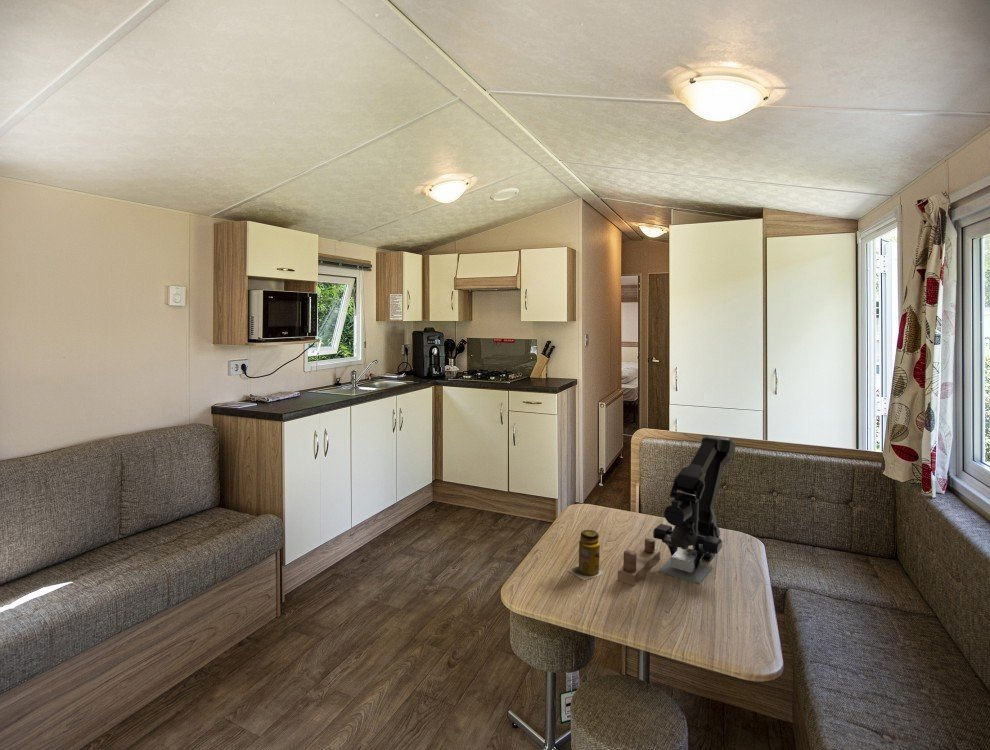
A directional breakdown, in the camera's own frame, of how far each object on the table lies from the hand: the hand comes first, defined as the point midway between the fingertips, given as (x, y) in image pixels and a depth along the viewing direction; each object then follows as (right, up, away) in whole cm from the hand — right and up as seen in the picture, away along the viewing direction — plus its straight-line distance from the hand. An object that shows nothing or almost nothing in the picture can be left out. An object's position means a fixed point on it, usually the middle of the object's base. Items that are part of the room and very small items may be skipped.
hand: (685, 565), depth 158 cm
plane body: (-14, -1, 0) cm, 14 cm away
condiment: (-30, -2, -1) cm, 30 cm away
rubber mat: (0, -2, 0) cm, 2 cm away
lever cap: (0, 0, 0) cm, 1 cm away
